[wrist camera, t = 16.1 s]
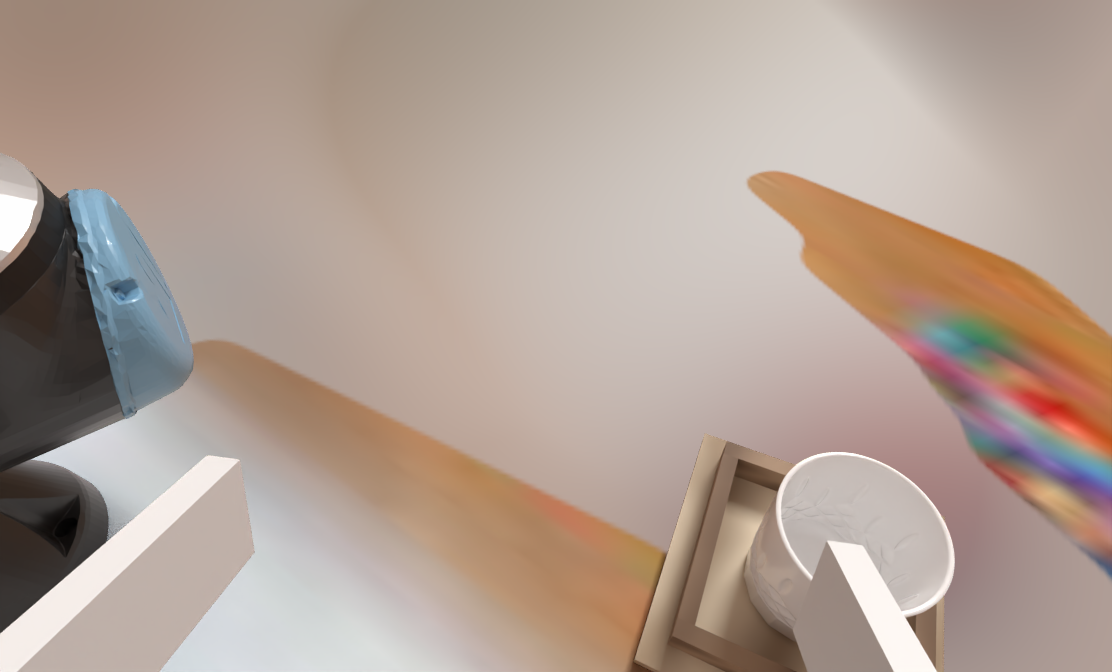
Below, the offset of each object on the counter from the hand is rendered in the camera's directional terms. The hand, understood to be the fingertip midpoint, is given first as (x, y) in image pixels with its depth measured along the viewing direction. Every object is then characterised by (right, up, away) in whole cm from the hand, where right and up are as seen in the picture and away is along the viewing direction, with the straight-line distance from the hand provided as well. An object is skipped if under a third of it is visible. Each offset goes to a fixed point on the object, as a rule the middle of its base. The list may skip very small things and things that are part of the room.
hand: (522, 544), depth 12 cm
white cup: (+16, -11, +21) cm, 29 cm away
